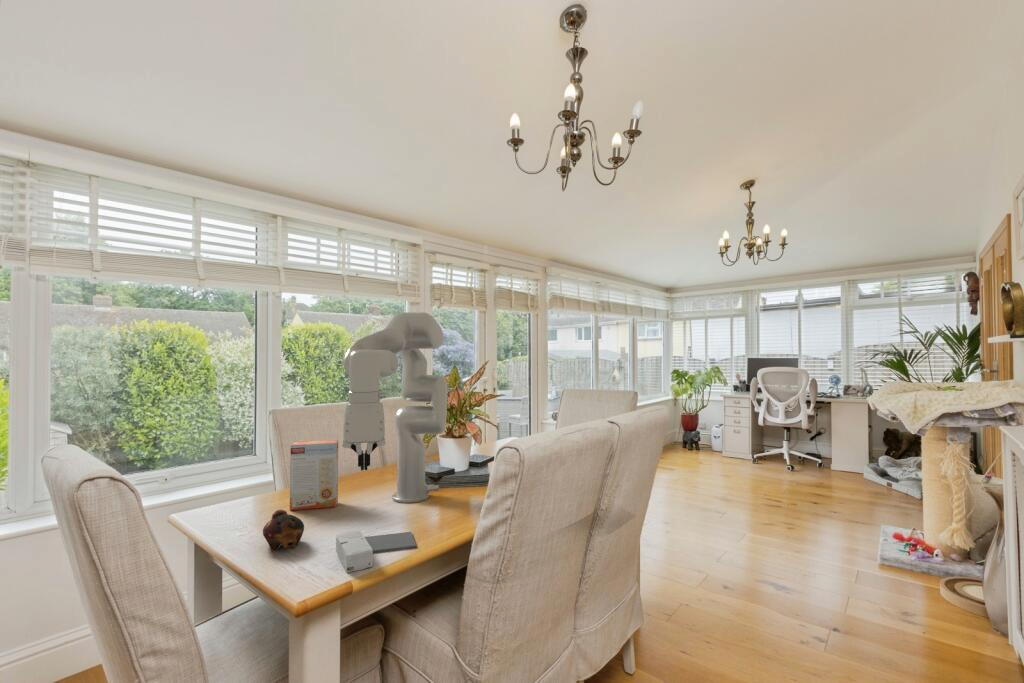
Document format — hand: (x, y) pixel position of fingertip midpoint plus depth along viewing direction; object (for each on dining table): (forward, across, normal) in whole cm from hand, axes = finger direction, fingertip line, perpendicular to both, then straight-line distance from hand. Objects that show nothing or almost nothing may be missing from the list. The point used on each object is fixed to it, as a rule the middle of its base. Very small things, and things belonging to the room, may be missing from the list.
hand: (364, 468), depth 122 cm
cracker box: (+21, +14, -38) cm, 46 cm away
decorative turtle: (+20, +20, -6) cm, 28 cm away
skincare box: (+17, +4, +3) cm, 18 cm away
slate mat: (+20, -5, +1) cm, 20 cm away
